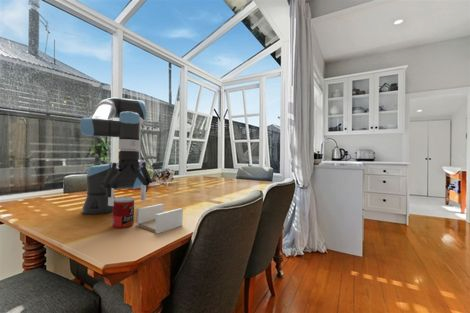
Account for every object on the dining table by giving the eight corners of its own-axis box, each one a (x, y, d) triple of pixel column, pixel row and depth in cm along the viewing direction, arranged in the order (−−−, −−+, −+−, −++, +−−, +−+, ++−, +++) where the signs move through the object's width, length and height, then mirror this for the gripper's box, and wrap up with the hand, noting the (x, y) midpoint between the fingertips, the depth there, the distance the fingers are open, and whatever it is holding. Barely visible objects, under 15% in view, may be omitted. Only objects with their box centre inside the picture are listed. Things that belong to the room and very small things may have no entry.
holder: (136, 225, 90) (136, 208, 90) (161, 219, 100) (161, 203, 100) (157, 233, 82) (158, 214, 82) (182, 225, 92) (182, 208, 92)
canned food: (124, 229, 85) (125, 201, 85) (107, 227, 87) (108, 199, 87) (137, 223, 93) (138, 197, 92) (121, 221, 94) (122, 196, 94)
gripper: (100, 149, 77) (99, 209, 77) (160, 151, 98) (159, 199, 97) (91, 149, 81) (89, 206, 81) (150, 151, 102) (149, 197, 102)
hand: (128, 202), depth 89 cm, fingers open, 13 cm apart
